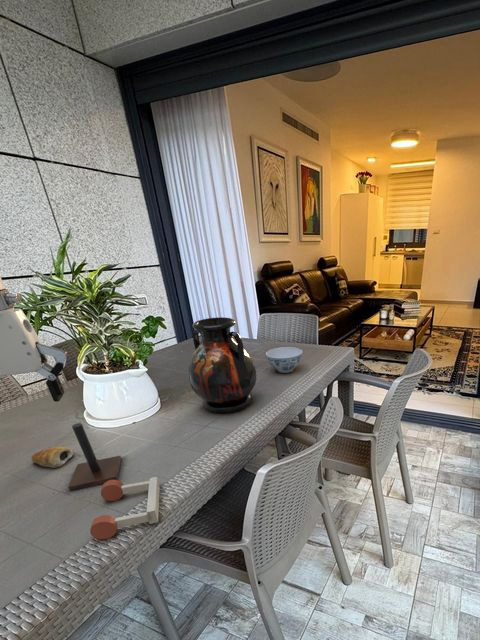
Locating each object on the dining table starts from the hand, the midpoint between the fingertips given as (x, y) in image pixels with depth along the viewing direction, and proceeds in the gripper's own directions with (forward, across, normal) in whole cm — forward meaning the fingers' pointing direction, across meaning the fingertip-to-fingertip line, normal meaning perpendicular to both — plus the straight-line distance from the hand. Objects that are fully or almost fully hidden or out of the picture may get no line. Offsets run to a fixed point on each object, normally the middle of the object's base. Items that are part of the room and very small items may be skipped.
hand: (28, 403), depth 63 cm
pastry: (+26, +11, -25) cm, 38 cm away
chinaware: (+26, -64, -66) cm, 96 cm away
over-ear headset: (+24, -5, +4) cm, 24 cm away
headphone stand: (+26, -1, -14) cm, 30 cm away
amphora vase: (+26, -37, -42) cm, 62 cm away
